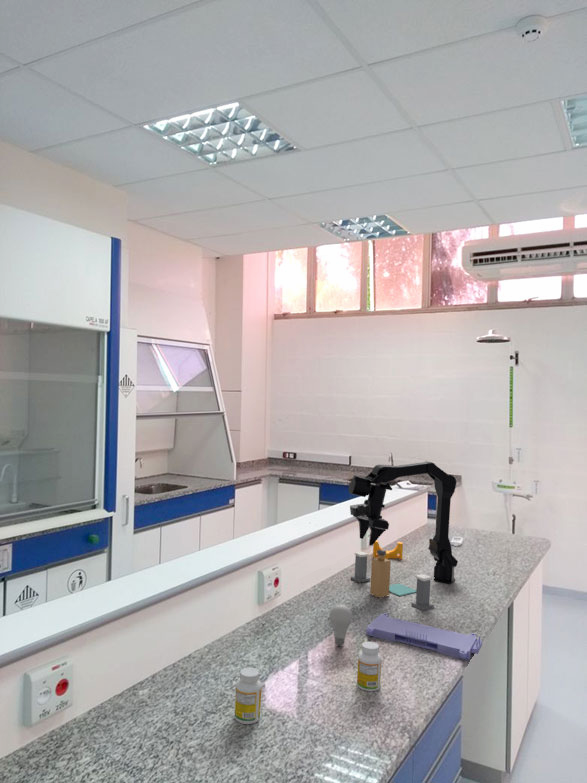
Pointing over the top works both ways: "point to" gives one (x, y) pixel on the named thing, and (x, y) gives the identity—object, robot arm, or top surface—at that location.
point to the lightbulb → (340, 622)
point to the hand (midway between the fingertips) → (365, 541)
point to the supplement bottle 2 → (369, 667)
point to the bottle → (380, 575)
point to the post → (423, 593)
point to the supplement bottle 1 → (248, 696)
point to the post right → (360, 567)
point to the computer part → (424, 636)
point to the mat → (401, 589)
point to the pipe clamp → (391, 553)
